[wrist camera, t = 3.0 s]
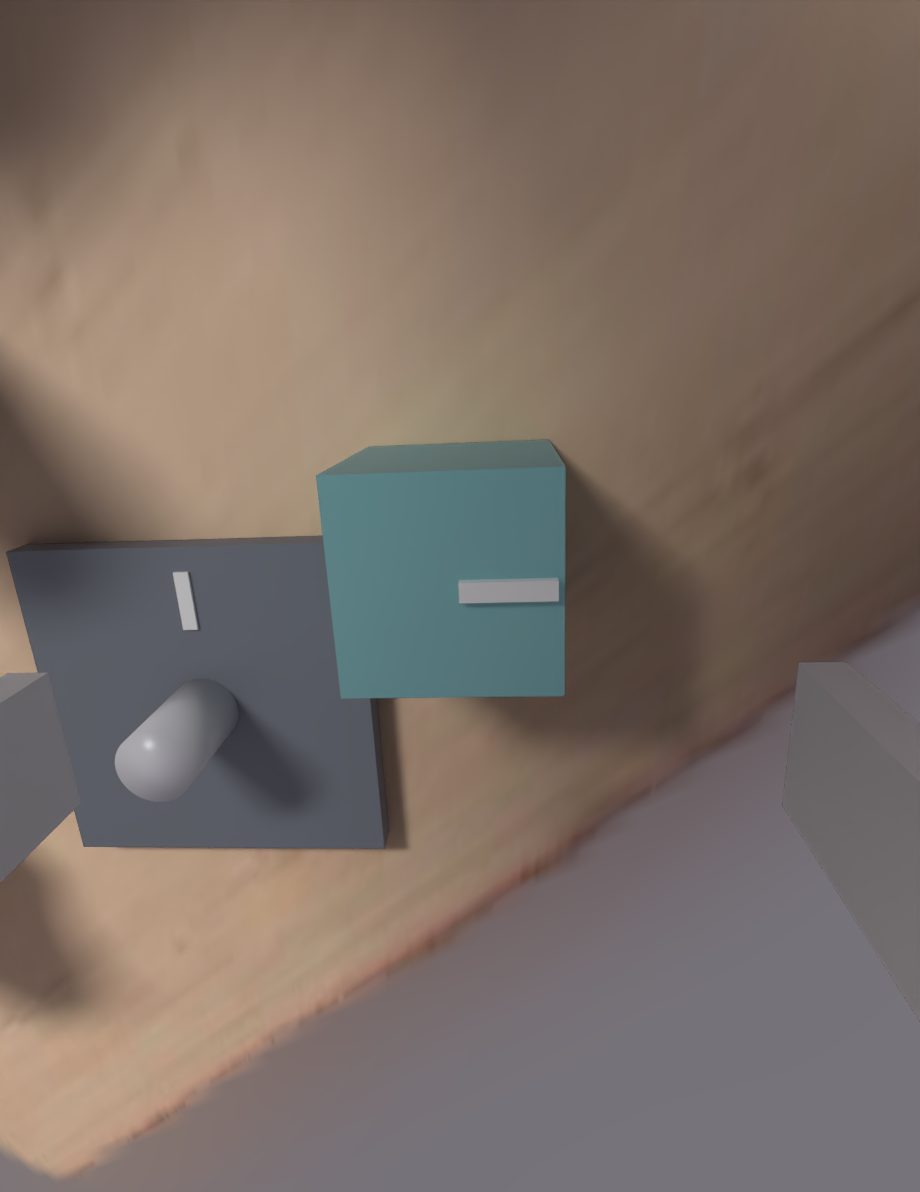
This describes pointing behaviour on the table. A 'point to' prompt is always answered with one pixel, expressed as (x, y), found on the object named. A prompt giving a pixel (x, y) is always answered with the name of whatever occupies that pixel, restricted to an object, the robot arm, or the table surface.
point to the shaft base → (239, 645)
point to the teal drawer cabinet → (447, 569)
